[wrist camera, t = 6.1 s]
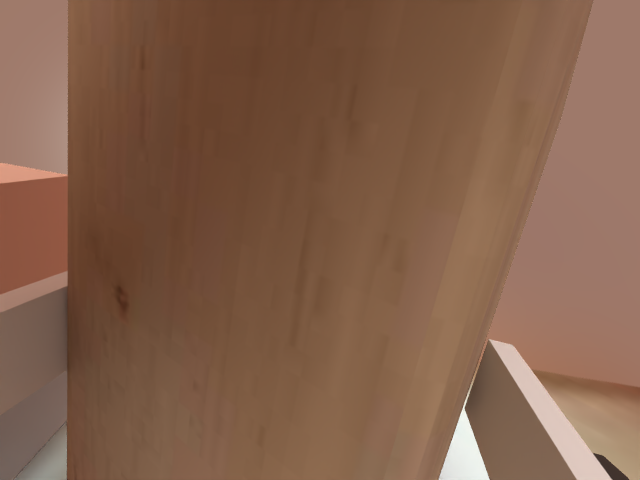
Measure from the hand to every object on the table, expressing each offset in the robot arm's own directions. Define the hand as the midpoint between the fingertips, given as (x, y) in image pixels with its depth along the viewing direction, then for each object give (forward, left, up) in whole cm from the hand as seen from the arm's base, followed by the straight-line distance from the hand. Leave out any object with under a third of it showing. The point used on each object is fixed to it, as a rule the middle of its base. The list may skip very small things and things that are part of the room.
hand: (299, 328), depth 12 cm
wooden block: (0, +1, -11) cm, 11 cm away
